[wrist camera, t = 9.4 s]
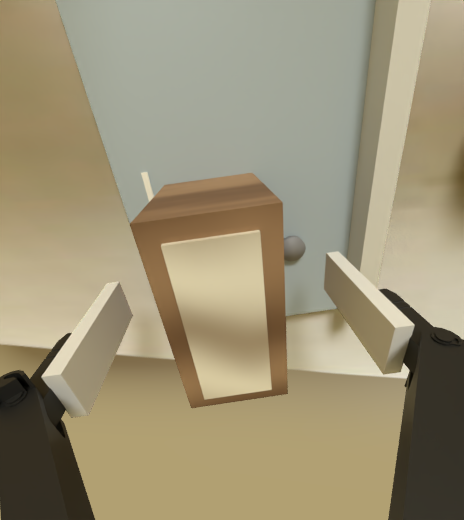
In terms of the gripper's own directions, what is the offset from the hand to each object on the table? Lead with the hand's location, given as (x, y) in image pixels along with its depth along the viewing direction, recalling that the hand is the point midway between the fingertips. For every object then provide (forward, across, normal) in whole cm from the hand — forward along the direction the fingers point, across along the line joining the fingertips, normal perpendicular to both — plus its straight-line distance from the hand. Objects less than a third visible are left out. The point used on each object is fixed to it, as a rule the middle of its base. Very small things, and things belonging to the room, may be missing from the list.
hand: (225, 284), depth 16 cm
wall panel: (+5, -3, -5) cm, 8 cm away
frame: (+4, 0, 0) cm, 4 cm away
